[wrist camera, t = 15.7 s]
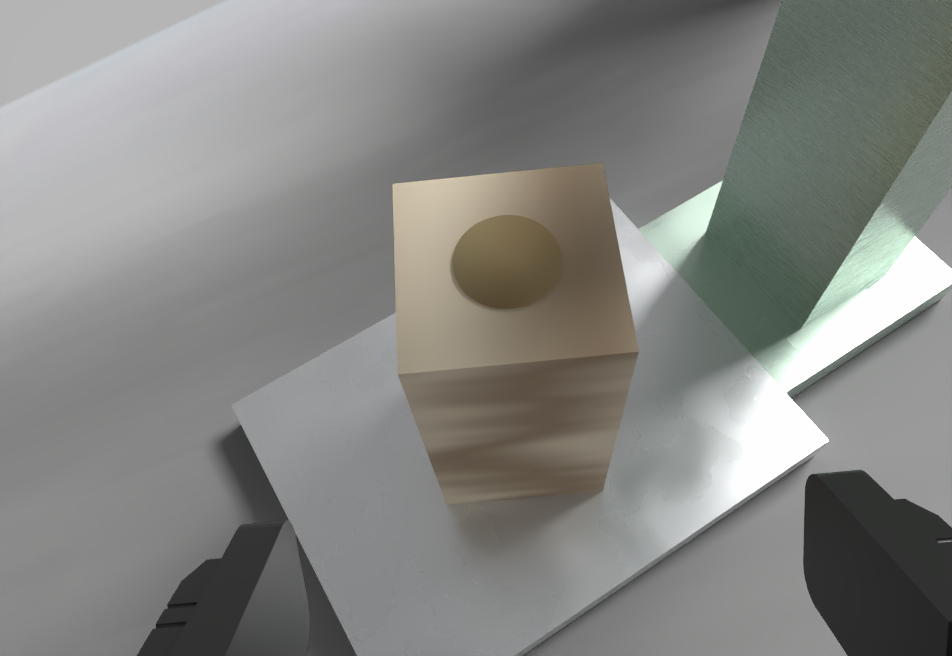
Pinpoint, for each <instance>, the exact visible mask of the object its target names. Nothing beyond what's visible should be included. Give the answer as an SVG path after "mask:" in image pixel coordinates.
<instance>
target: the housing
mask: <svg viewBox="0 0 952 656" xmlns="http://www.w3.org/2000/svg"><path fill="white" fill-rule="evenodd" d="M393 216H394V254H395V293H396V331H397V369H398V377H399V379H400V382H401V385H402V387H403V390H404V393H405V395H406V398H407V401H408V403H409V406H410V409H411V411H412V414H413V417H414V419H415V422H416V425H417V427H418V430H419V433H420V435H421V438H422V441H423V443H424V446H425V449H426V451H427V454H428V457H429V459H430V462H431V465H432V467H433V470H434V473H435V475H436V478H437V481H438V483H439V486H440V489H441V491H442V494H443V496H444V499H445V502H446V504H447V505H451V504H462V503H473V502H484V501H495V500H507V499H518V498H529V497H540V496H551V495H562V494H574V493H585V492H596V491H603V488H604V484H605V481H606V477H607V473H608V469H609V465H610V461H611V458H612V454H613V450H614V446H615V442H616V438H617V434H618V431H619V427H620V423H621V419H622V415H623V411H624V407H625V404H626V400H627V396H628V392H629V388H630V384H631V380H632V377H633V373H634V369H635V365H636V361H637V357H638V353H639V349H638V344H637V339H636V334H635V328H634V323H633V318H632V313H631V307H630V302H629V297H628V292H627V286H626V281H625V276H624V271H623V265H622V260H621V255H620V250H619V244H618V239H617V234H616V229H615V223H614V218H613V213H612V208H611V202H610V197H609V192H608V187H607V181H606V176H605V171H604V166H603V163H595V164H585V165H575V166H565V167H555V168H545V169H535V170H525V171H515V172H506V173H496V174H486V175H476V176H466V177H456V178H446V179H436V180H426V181H416V182H406V183H396V184H393Z"/></svg>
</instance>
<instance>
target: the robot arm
mask: <svg viewBox="0 0 952 656" xmlns="http://www.w3.org/2000/svg"><path fill="white" fill-rule="evenodd" d="M803 564H804V574H805V580H806V584H807V588H808V591H809V594H810V597H811V599H812V601H813V603H814V605H815V607H816V608H817V610H818V611H819V613H820V614H821V616H822V617H823V619H824V620H825V622H826V623H827V625H828V627H829V628H830V630H831V631H832V633H833V634H834V636H835V637H836V639H837V640H838V642H839V643H840V645H841V646H842V648H843V649H844V651H845V652H846V654H847V655H848V656H952V528H951V527H950V526H949V525H948V524H947V523H946V522H945V521H944V520H943V519H941V518H940V517H939V516H938V515H936V514H934V513H932V512H930V511H928V510H926V509H924V508H922V507H920V506H918V505H916V504H914V503H912V502H910V501H908V500H906V499H897V500H894V499H893V498H892V497H891V496H890V495H889V494H888V493H887V492H886V491H885V490H884V489H883V488H882V487H880V486H879V485H878V484H877V483H876V482H875V481H874V480H873V479H872V478H871V477H870V476H869V475H868V474H867V473H866V472H864V471H862V470H853V471H842V472H831V473H820V474H812V475H810V476H809V477H808V479H807V482H806V486H805V516H804V558H803ZM309 635H310V612H309V604H308V599H307V593H306V588H305V583H304V577H303V572H302V567H301V561H300V556H299V551H298V546H297V540H296V535H295V531H294V528H293V526H292V524H291V522H290V521H288V520H287V521H276V522H265V523H254V524H243V525H240V526H239V528H238V529H237V531H236V533H235V534H234V536H233V538H232V540H231V542H230V544H229V546H228V547H227V549H226V551H225V553H224V555H223V557H222V558H221V559H210V560H206V561H205V562H204V563H203V564H201V565H200V566H199V567H198V568H197V569H195V570H194V571H193V572H192V573H191V574H190V575H188V576H187V577H186V578H185V579H184V580H182V581H181V583H180V585H179V586H178V588H177V590H176V591H175V593H174V595H173V596H172V598H171V600H170V601H169V603H168V609H165V610H164V611H163V613H162V615H161V616H160V618H159V620H158V621H157V623H156V629H153V630H152V631H151V633H150V635H149V636H148V638H147V640H146V641H145V643H144V645H143V646H142V648H141V650H140V651H139V653H138V655H137V656H305V655H306V651H307V648H308V643H309Z"/></svg>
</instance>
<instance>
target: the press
mask: <svg viewBox="0 0 952 656" xmlns="http://www.w3.org/2000/svg"><path fill="white" fill-rule="evenodd" d="M951 187H952V0H782V3H781V6H780V9H779V12H778V15H777V18H776V21H775V24H774V27H773V30H772V33H771V36H770V39H769V42H768V45H767V48H766V51H765V54H764V57H763V60H762V63H761V66H760V69H759V72H758V75H757V78H756V82H755V85H754V88H753V91H752V94H751V97H750V100H749V103H748V106H747V109H746V112H745V115H744V118H743V121H742V124H741V127H740V130H739V133H738V136H737V139H736V142H735V145H734V148H733V151H732V154H731V157H730V160H729V163H728V167H727V170H726V173H725V176H724V179H723V181H721V182H719V183H718V184H716V185H714V186H712V187H711V188H709V189H707V190H705V191H704V192H702V193H700V194H699V195H697V196H695V197H693V198H692V199H690V200H688V201H686V202H685V203H683V204H681V205H679V206H678V207H676V208H674V209H673V210H671V211H669V212H667V213H666V214H664V215H662V216H660V217H659V218H657V219H655V220H653V221H652V222H650V223H648V224H647V225H645V226H643V227H641V228H640V229H637V228H636V226H635V225H634V224H633V223H632V222H631V221H630V220H629V219H628V218H627V216H626V215H625V214H624V213H623V212H622V211H621V210H620V209H619V208H618V207H617V205H616V204H615V203H614V202H613V201H612V200H611V199H610V202H611V208H612V213H613V218H614V223H615V229H616V234H617V239H618V244H619V250H620V255H621V260H622V265H623V271H624V276H625V281H626V286H627V292H628V297H629V302H630V307H631V313H632V318H633V323H634V328H635V334H636V339H637V344H638V349H639V353H638V357H637V361H636V365H635V369H634V373H633V377H632V380H631V384H630V388H629V392H628V396H627V400H626V404H625V407H624V411H623V415H622V419H621V423H620V427H619V431H618V434H617V438H616V442H615V446H614V450H613V454H612V458H611V461H610V465H609V469H608V473H607V477H606V481H605V484H604V488H603V491H596V492H585V493H574V494H562V495H551V496H540V497H529V498H518V499H507V500H495V501H484V502H473V503H462V504H451V505H447V504H446V502H445V499H444V496H443V494H442V491H441V489H440V486H439V483H438V481H437V478H436V475H435V473H434V470H433V467H432V465H431V462H430V459H429V457H428V454H427V451H426V449H425V446H424V443H423V441H422V438H421V435H420V433H419V430H418V427H417V425H416V422H415V419H414V417H413V414H412V411H411V409H410V406H409V403H408V401H407V398H406V395H405V393H404V390H403V387H402V385H401V382H400V379H399V377H398V369H397V331H396V313H394V314H392V315H390V316H389V317H387V318H385V319H383V320H382V321H380V322H378V323H376V324H374V325H373V326H371V327H369V328H367V329H366V330H364V331H362V332H360V333H358V334H357V335H355V336H353V337H351V338H349V339H348V340H346V341H344V342H342V343H341V344H339V345H337V346H335V347H333V348H332V349H330V350H328V351H326V352H325V353H323V354H321V355H319V356H317V357H316V358H314V359H312V360H310V361H308V362H307V363H305V364H303V365H301V366H300V367H298V368H296V369H294V370H292V371H291V372H289V373H287V374H285V375H284V376H282V377H280V378H278V379H276V380H275V381H273V382H271V383H269V384H267V385H266V386H264V387H262V388H260V389H259V390H257V391H255V392H253V393H251V394H250V395H248V396H246V397H244V398H243V399H241V400H239V401H237V402H235V403H234V404H232V405H231V406H232V408H233V410H234V412H235V414H236V416H237V418H238V420H239V422H240V424H241V426H242V428H243V430H244V432H245V434H246V436H247V438H248V440H249V442H250V444H251V446H252V448H253V450H254V452H255V453H256V455H257V457H258V459H259V461H260V463H261V465H262V467H263V469H264V471H265V473H266V475H267V477H268V479H269V481H270V483H271V485H272V487H273V489H274V491H275V493H276V495H277V497H278V499H279V501H280V503H281V505H282V507H283V509H284V511H285V513H286V515H287V517H288V519H289V521H290V522H291V524H292V526H293V528H294V531H295V533H296V535H297V537H298V539H299V541H300V543H301V545H302V547H303V549H304V551H305V553H306V555H307V557H308V559H309V561H310V563H311V565H312V567H313V569H314V571H315V573H316V575H317V577H318V579H319V581H320V583H321V585H322V587H323V589H324V591H325V593H326V595H327V597H328V599H329V601H330V603H331V605H332V607H333V609H334V611H335V613H336V615H337V617H338V619H339V621H340V623H341V625H342V627H343V629H344V631H345V633H346V635H347V637H348V639H349V641H350V643H351V645H352V647H353V649H354V651H355V653H356V655H357V656H523V655H524V654H526V653H527V652H529V651H530V650H532V649H533V648H534V647H536V646H537V645H539V644H540V643H542V642H543V641H545V640H546V639H548V638H549V637H551V636H552V635H553V634H555V633H556V632H558V631H559V630H561V629H562V628H564V627H565V626H567V625H568V624H569V623H571V622H572V621H574V620H575V619H577V618H578V617H580V616H581V615H583V614H584V613H586V612H587V611H588V610H590V609H591V608H593V607H594V606H596V605H597V604H599V603H600V602H602V601H603V600H605V599H606V598H607V597H609V596H610V595H612V594H613V593H615V592H616V591H618V590H619V589H621V588H622V587H624V586H625V585H626V584H628V583H629V582H631V581H632V580H634V579H635V578H637V577H638V576H640V575H641V574H642V573H644V572H645V571H647V570H648V569H650V568H651V567H653V566H654V565H656V564H657V563H659V562H660V561H661V560H663V559H664V558H666V557H667V556H669V555H670V554H672V553H673V552H675V551H676V550H678V549H679V548H680V547H682V546H683V545H685V544H686V543H688V542H689V541H691V540H692V539H694V538H695V537H697V536H698V535H699V534H701V533H702V532H704V531H705V530H707V529H708V528H710V527H711V526H713V525H714V524H715V523H717V522H718V521H720V520H721V519H723V518H724V517H726V516H727V515H729V514H730V513H732V512H733V511H734V510H736V509H737V508H739V507H740V506H742V505H743V504H745V503H746V502H748V501H749V500H751V499H752V498H753V497H755V496H756V495H758V494H759V493H761V492H762V491H764V490H765V489H767V488H768V487H770V486H771V485H772V484H774V483H775V482H777V481H778V480H780V479H781V478H783V477H784V476H786V475H787V474H789V473H790V472H791V471H793V470H794V469H796V468H797V467H799V466H800V465H802V464H803V463H805V462H806V461H807V460H809V459H810V458H812V457H813V456H815V455H816V454H817V453H818V452H819V450H820V449H821V448H822V447H823V446H824V445H825V444H826V443H827V442H828V441H829V440H828V439H827V438H826V437H825V436H824V434H823V433H822V432H821V431H820V430H819V429H818V428H817V427H816V426H815V424H814V423H813V422H812V421H811V420H810V419H809V418H808V417H807V416H806V414H805V413H804V412H803V411H802V410H801V409H800V408H799V407H798V406H797V405H796V403H795V402H794V401H793V400H792V399H791V398H792V397H794V396H795V395H797V394H798V393H800V392H801V391H803V390H804V389H806V388H807V387H809V386H810V385H812V384H813V383H815V382H816V381H818V380H819V379H821V378H822V377H824V376H826V375H827V374H829V373H830V372H832V371H833V370H835V369H836V368H838V367H839V366H841V365H842V364H844V363H845V362H847V361H848V360H850V359H851V358H853V357H854V356H856V355H857V354H859V353H860V352H862V351H863V350H865V349H866V348H868V347H869V346H871V345H872V344H874V343H875V342H877V341H878V340H880V339H881V338H883V337H885V336H886V335H888V334H889V333H891V332H892V331H894V330H895V329H897V328H898V327H900V326H901V325H903V324H904V323H906V322H907V321H909V320H910V319H912V318H913V317H915V316H916V315H918V314H919V313H921V312H922V311H924V310H925V309H927V308H928V307H930V306H931V305H933V304H934V303H936V302H937V301H939V300H940V299H942V298H943V297H944V295H945V294H946V293H947V292H948V291H949V290H950V289H951V288H952V269H950V268H949V267H948V266H947V265H946V264H945V263H944V262H943V261H941V260H940V259H939V258H938V257H937V256H936V255H935V254H934V253H933V252H931V251H930V250H929V249H928V248H927V247H926V246H925V245H924V244H922V243H921V242H920V241H919V240H918V239H917V238H916V237H915V236H916V234H917V233H918V232H919V230H920V229H921V228H922V226H923V225H924V224H925V222H926V221H927V219H928V218H929V217H930V215H931V214H932V213H933V211H934V210H935V209H936V207H937V206H938V205H939V203H940V202H941V201H942V199H943V198H944V197H945V195H946V194H947V193H948V191H949V190H950V189H951Z"/></svg>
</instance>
